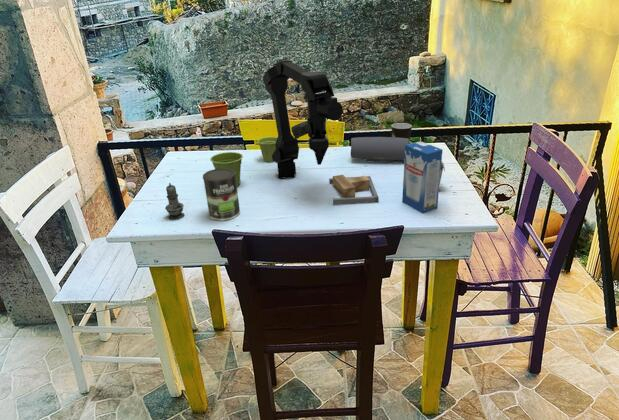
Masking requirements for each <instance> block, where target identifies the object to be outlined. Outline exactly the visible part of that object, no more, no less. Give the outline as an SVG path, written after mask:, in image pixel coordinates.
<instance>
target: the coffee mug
mask: <svg viewBox="0 0 619 420" xmlns="http://www.w3.org/2000/svg"><path fill="white" fill-rule="evenodd" d="M390 126H391V137H395V138H407V139H409V141H410V140H411V134H412V128H413V125H412V124H410V123H407V122H397V123H391V125H390Z"/></svg>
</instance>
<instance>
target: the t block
mask: <svg viewBox="0 0 619 420" xmlns="http://www.w3.org/2000/svg"><path fill="white" fill-rule="evenodd" d="M353 177H354V178H348V179H347V178H346V175H344V174H339V175H332V178H333V184H332V187H333V188H334V190H335V191H336V192H337V193H338V194H339V196H340V197H341V198H351V197H356V193H361V192H367V191H370V180H369V179H368V178H367V177H366V175H362V176H361V175H360V176H353Z"/></svg>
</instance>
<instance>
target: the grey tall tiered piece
mask: <svg viewBox="0 0 619 420" xmlns="http://www.w3.org/2000/svg"><path fill="white" fill-rule="evenodd" d="M176 189H177V187H176V186H175V185H173V184H172V183H171V182H169V183H168V185H167V186H166V188H165V190H166V194H167V195H166V199H167V202H168V204H167V205H166V206H165V208H164V209H165V210H166V212H167V214H169V215H168V217H167V218H168V219H169V220H171V221H177V220H180V219H183V218H184V217H185V213H184V212H183V211H184V207H185V205H184V203H182V202H179V199H178V197H179V194H178V193H177V190H176Z"/></svg>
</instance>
